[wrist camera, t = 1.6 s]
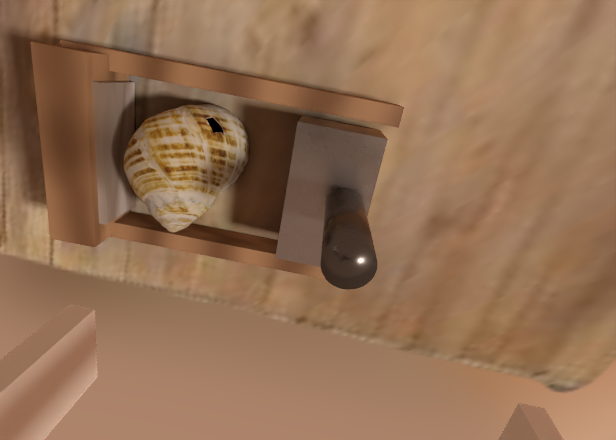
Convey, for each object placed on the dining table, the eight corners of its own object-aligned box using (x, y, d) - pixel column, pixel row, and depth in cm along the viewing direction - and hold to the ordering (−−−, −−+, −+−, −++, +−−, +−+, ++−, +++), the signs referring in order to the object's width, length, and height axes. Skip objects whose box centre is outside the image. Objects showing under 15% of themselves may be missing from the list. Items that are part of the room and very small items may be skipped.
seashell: (248, 89, 31) (225, 164, 24) (255, 173, 38) (240, 248, 32) (131, 82, 31) (77, 155, 24) (161, 167, 38) (126, 241, 32)
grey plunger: (282, 235, 36) (249, 331, 22) (303, 115, 32) (277, 143, 18) (350, 248, 36) (358, 353, 22) (380, 130, 32) (413, 169, 18)
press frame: (93, 218, 37) (50, 242, 32) (84, 43, 31) (29, 35, 26) (354, 269, 37) (357, 302, 32) (397, 104, 31) (411, 110, 26)
